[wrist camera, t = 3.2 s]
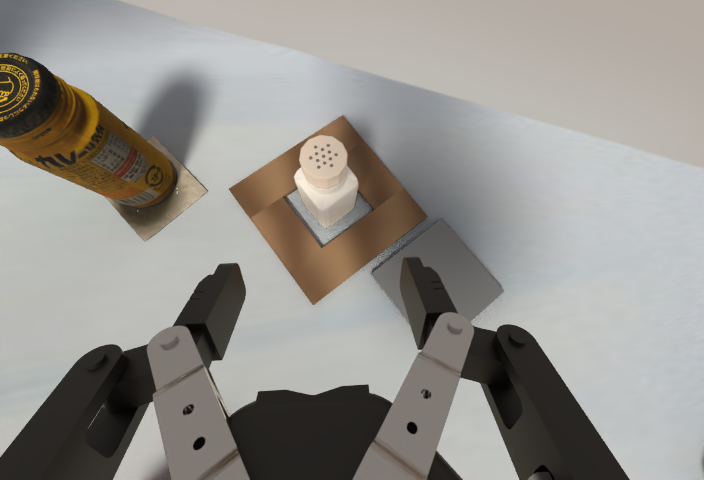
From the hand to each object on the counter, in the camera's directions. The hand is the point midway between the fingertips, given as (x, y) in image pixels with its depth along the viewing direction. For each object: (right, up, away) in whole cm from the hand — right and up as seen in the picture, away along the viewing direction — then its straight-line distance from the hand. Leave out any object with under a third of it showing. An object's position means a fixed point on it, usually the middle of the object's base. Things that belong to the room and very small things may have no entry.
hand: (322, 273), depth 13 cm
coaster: (+10, -2, +12) cm, 16 cm away
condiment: (-18, +7, +13) cm, 24 cm away
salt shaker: (-1, +5, +14) cm, 15 cm away
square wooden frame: (-1, +5, +14) cm, 15 cm away
